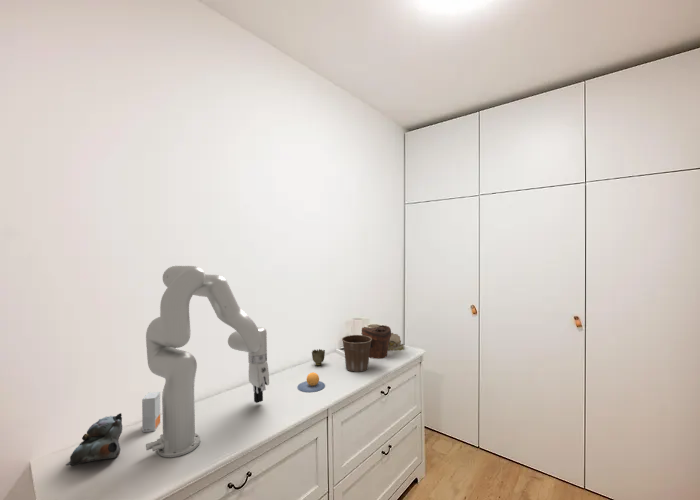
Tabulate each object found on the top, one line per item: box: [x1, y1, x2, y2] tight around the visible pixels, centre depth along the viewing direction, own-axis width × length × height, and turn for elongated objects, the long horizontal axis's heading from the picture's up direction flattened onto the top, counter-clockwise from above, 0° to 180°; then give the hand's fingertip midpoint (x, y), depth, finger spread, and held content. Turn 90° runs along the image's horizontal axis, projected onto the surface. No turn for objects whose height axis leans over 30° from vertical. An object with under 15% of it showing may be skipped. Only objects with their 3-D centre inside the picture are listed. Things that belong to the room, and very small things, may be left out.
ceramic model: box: [388, 332, 405, 351], centre depth 217 cm, size 14×11×10 cm
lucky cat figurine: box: [65, 412, 123, 467], centre depth 106 cm, size 15×12×14 cm
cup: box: [311, 348, 326, 367], centre depth 187 cm, size 8×7×8 cm
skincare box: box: [141, 391, 161, 433], centre depth 123 cm, size 6×4×12 cm
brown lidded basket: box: [360, 324, 392, 359], centre depth 203 cm, size 18×20×18 cm
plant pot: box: [341, 334, 372, 373], centre depth 181 cm, size 16×16×16 cm
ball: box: [306, 371, 320, 386], centre depth 159 cm, size 6×6×6 cm
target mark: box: [296, 380, 326, 393], centre depth 158 cm, size 13×13×1 cm
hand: (258, 401), depth 140 cm, fingers closed
